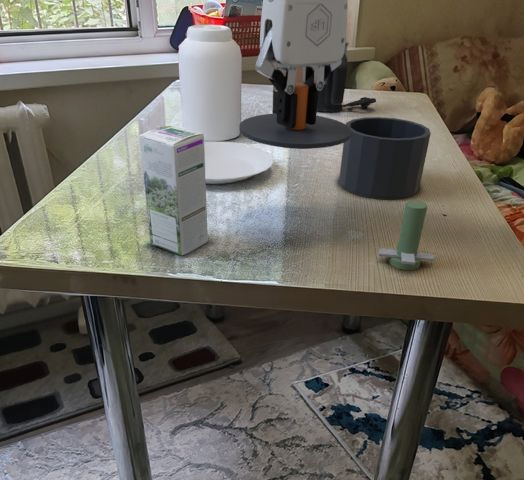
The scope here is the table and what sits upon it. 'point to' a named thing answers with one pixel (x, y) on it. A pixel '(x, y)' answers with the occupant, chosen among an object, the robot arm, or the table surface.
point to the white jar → (210, 82)
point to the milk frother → (338, 89)
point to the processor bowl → (384, 157)
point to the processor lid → (296, 128)
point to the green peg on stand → (409, 239)
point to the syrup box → (175, 188)
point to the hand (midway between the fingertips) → (296, 122)
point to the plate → (233, 162)
